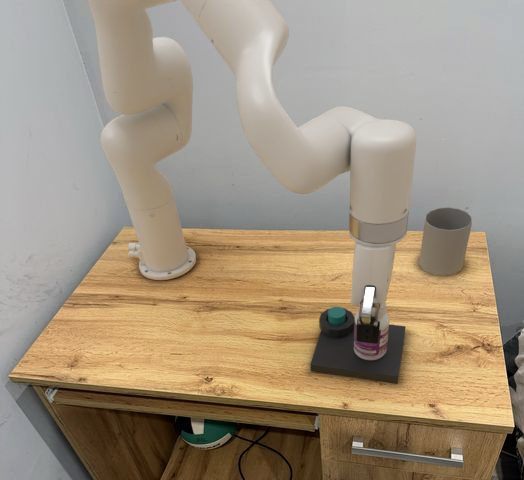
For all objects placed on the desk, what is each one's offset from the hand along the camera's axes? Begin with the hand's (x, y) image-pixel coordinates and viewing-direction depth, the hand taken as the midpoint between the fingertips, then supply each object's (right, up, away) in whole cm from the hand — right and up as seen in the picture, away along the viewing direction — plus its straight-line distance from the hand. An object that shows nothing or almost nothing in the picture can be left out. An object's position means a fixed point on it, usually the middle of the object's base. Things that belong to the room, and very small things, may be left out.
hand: (371, 320), depth 78 cm
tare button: (-4, +1, +9) cm, 10 cm away
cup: (+19, +13, +22) cm, 32 cm away
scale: (-1, -5, +7) cm, 8 cm away
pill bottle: (+1, -5, +5) cm, 7 cm away
